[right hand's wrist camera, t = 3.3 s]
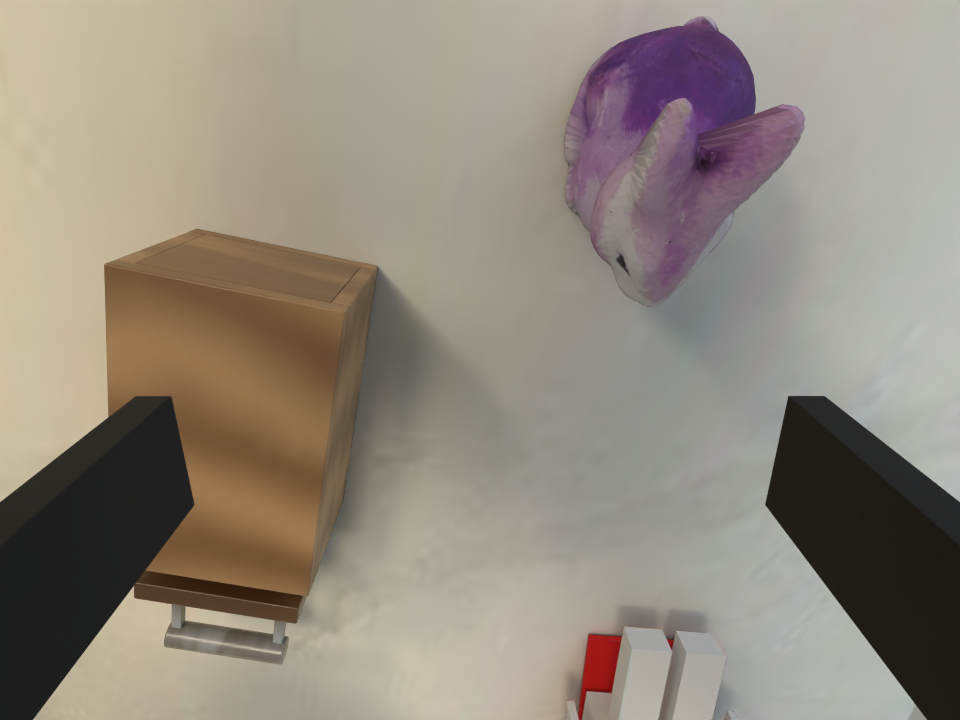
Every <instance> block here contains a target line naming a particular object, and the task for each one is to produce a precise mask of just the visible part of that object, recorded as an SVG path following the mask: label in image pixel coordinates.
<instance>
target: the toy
mask: <svg viewBox="0 0 960 720" xmlns="http://www.w3.org/2000/svg"><path fill="white" fill-rule="evenodd" d="M726 658H727V656H726V654H725V652H724V650H723V648H722V647H721V645H720V643H719V641H718V640H717V638H716V636H715V634H712V633H700V632H687V631H676V633H675V638H674V640H670V639H666V637H665V635H664V632H663V630H662V629H650V628H637V627H625V626H624V629H623V634H622V637H618V636H601V635H588V643H587V650H586V658H585V666H584V673H583V681H582V689H581V696H580V704H579V712H578V714H577V709H576V705H575V700H569V701H567V716H566V720H712V718H713V714H714V709H715V705H716V701H717V696H718V692H719V688H720V684H721V679H722V675H723V671H724V666H725V662H726ZM724 720H738V718H737V716H736V714H735V712H733V711H727V712H726V715H725V718H724Z"/></svg>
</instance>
